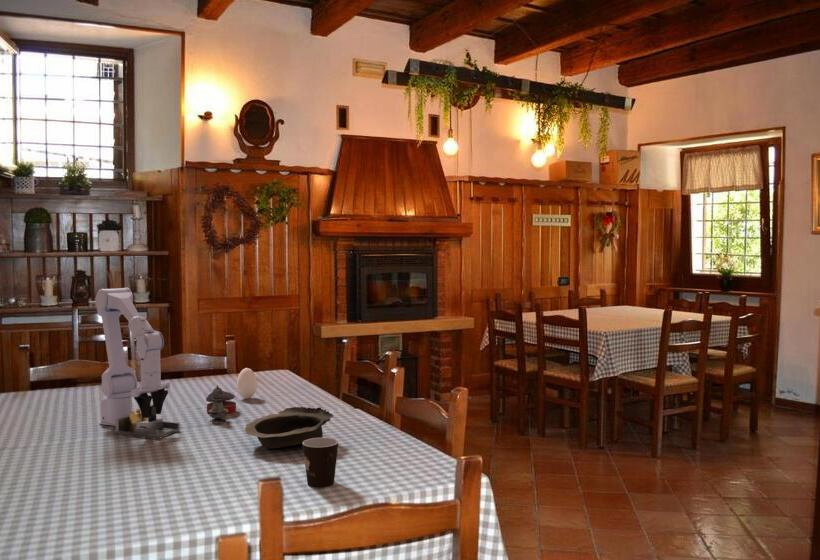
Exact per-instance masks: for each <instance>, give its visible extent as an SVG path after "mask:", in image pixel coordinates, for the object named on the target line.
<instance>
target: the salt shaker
mask: <svg viewBox="0 0 820 560" xmlns="http://www.w3.org/2000/svg"><path fill="white" fill-rule="evenodd" d="M222 391H223V389H222V388H221V387H219V385H218V384H217V385H216V387H215V388H214V389H213V391H212V392H213V399H212V400H213V408H212V409H211V410H209V412H210V415H209V416H210V417H211V418H212V419H210V420H209V423H211V422H212V424H221V423H220V422H222V423H225V422H226V421H227V419H226V418H224V417H225V416H226V415H225V414H226V411H227V409H224V408H223V405H222V400H223V398H222Z"/></svg>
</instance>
